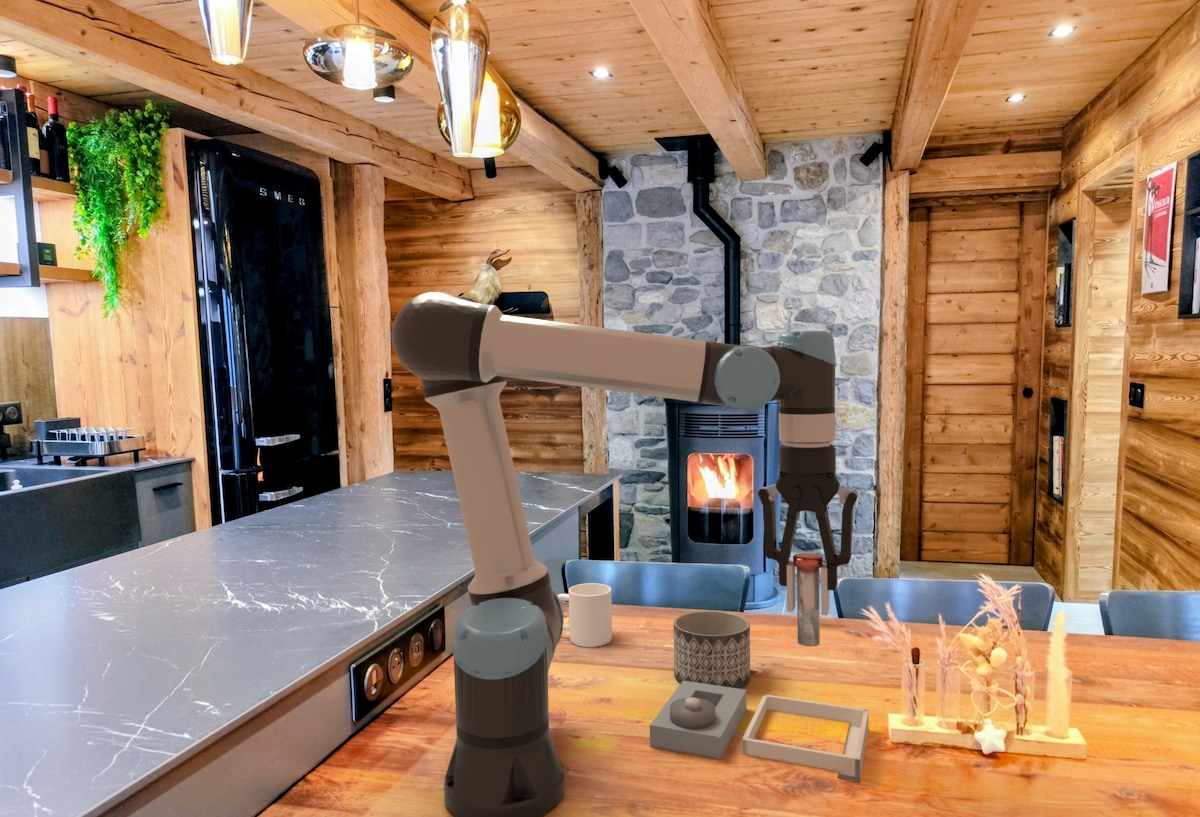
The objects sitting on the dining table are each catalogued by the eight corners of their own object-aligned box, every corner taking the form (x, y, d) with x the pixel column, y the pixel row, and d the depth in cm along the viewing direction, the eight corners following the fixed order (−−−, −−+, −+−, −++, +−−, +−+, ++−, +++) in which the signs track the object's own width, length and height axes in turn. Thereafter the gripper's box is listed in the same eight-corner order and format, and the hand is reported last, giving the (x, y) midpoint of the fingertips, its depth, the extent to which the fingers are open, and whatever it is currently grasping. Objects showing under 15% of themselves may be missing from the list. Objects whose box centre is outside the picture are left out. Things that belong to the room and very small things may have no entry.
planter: (660, 677, 135) (659, 617, 134) (720, 662, 141) (719, 605, 140) (702, 705, 124) (701, 640, 123) (766, 688, 130) (765, 626, 129)
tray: (859, 782, 101) (859, 759, 101) (742, 760, 107) (742, 739, 106) (868, 729, 115) (868, 709, 115) (764, 713, 121) (764, 694, 120)
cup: (606, 649, 148) (605, 596, 148) (546, 644, 151) (544, 593, 151) (616, 634, 156) (615, 584, 156) (559, 630, 159) (557, 581, 159)
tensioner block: (720, 766, 105) (720, 718, 105) (650, 752, 109) (649, 706, 109) (746, 715, 120) (746, 673, 120) (683, 705, 124) (683, 664, 124)
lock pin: (821, 649, 107) (820, 561, 106) (791, 645, 109) (790, 558, 108) (825, 639, 111) (824, 554, 110) (796, 636, 112) (795, 552, 112)
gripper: (874, 441, 108) (874, 608, 110) (751, 439, 115) (753, 596, 116) (870, 448, 101) (870, 626, 103) (739, 445, 108) (741, 612, 109)
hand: (808, 610), depth 109 cm, fingers closed on lock pin, 4 cm apart
